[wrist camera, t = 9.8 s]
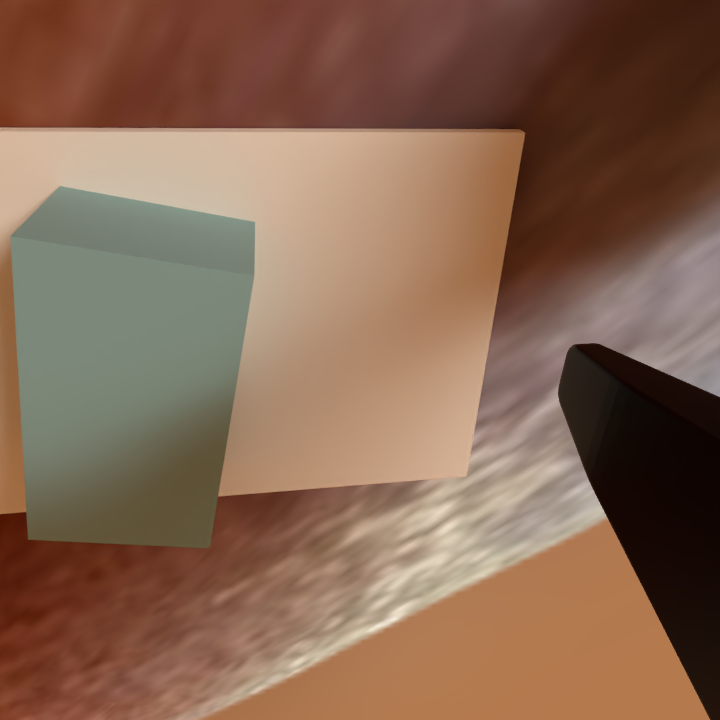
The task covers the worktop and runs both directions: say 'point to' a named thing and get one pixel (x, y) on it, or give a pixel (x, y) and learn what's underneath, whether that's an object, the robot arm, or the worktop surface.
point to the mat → (311, 285)
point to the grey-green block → (127, 365)
